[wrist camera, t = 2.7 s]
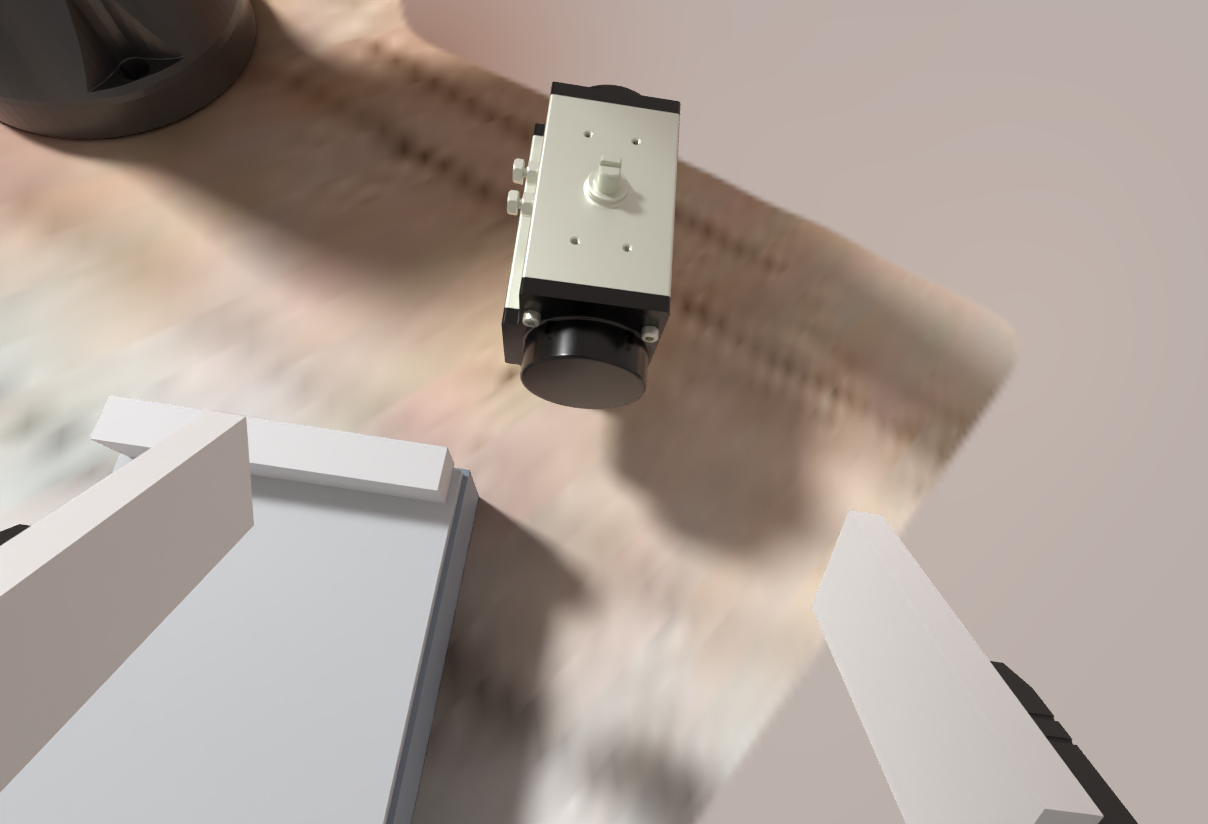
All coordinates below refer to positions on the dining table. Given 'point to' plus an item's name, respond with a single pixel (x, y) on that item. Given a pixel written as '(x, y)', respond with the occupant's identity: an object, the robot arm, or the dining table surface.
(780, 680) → the dining table surface
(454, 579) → the grey piece
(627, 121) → the pneumatic valve
